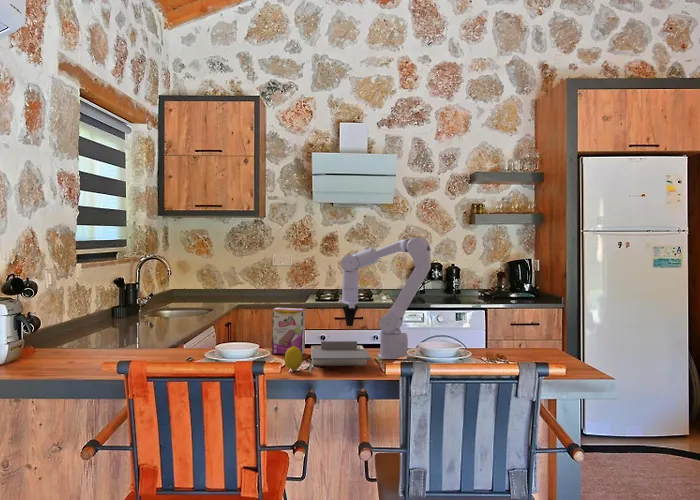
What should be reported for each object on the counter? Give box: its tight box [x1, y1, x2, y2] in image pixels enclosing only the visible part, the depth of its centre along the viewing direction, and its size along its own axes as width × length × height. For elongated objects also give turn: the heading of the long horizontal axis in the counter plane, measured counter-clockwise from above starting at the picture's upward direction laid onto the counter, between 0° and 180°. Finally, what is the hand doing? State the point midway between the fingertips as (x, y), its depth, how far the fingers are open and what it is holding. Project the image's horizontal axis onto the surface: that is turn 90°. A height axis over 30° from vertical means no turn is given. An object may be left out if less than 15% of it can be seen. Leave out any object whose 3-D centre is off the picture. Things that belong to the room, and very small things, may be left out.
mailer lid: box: [312, 340, 372, 361], centre depth 181 cm, size 18×14×3 cm
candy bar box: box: [271, 307, 306, 356], centre depth 204 cm, size 11×5×16 cm, turn 84°
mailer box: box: [310, 345, 368, 367], centre depth 192 cm, size 18×14×4 cm
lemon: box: [284, 346, 303, 372], centre depth 177 cm, size 6×6×8 cm
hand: (349, 325), depth 204 cm, fingers closed
